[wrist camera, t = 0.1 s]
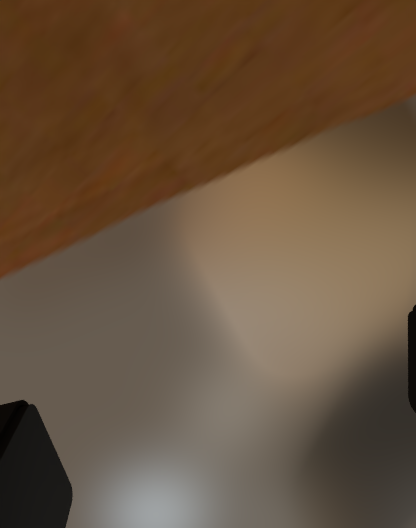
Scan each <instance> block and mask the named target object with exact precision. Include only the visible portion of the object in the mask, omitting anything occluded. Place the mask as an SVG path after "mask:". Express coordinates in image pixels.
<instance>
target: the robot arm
mask: <svg viewBox="0 0 416 528" xmlns="http://www.w3.org/2000/svg"><path fill="white" fill-rule="evenodd" d="M408 397H409V402H410V405H411V407H412V408H413V410H414V411H415V413H416V305H415V306H414V307H413V311H411V312H410V313H409V315H408ZM71 503H72V487H71V484H70V482H69V479H68V477H67V475H66V472H65V470H64V468H63V466H62V463H61V461H60V459H59V457H58V454H57V452H56V450H55V448H54V446H53V444H52V441H51V439H50V437H49V435H48V432H47V430H46V428H45V426H44V423H43V421H42V419H41V417H40V414H39V412H38V410H37V408H36V407H35V405H33V404H30V405H29V404H28V403H27V402H26V401H24V400H20V401H16V402H12V403H7V404H3V405H0V528H65V527H66V523H67V519H68V515H69V511H70V507H71Z"/></svg>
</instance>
